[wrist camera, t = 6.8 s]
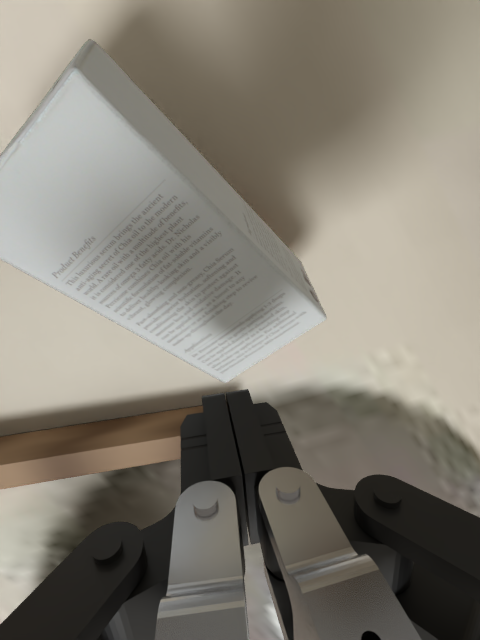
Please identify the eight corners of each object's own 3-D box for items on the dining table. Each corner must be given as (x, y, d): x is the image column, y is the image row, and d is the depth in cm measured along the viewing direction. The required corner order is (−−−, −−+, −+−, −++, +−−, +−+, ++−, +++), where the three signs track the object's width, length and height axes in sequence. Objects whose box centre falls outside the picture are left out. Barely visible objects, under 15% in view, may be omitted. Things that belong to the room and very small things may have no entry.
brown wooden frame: (210, 181, 18) (215, 182, 15) (233, 421, 23) (240, 448, 21) (-199, 214, 16) (-264, 220, 13) (-72, 470, 21) (-103, 507, 18)
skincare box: (302, 260, 18) (94, 28, 11) (331, 321, 15) (73, 60, 8) (212, 324, 21) (-13, 168, 13) (222, 388, 18) (-61, 234, 10)
